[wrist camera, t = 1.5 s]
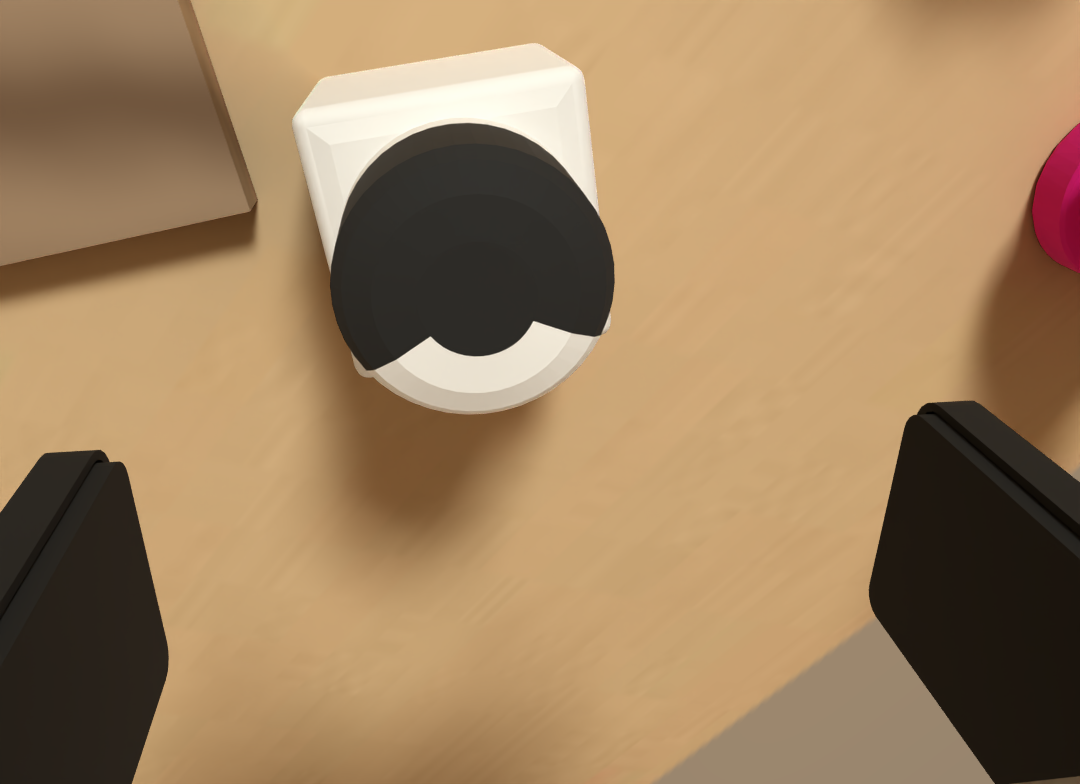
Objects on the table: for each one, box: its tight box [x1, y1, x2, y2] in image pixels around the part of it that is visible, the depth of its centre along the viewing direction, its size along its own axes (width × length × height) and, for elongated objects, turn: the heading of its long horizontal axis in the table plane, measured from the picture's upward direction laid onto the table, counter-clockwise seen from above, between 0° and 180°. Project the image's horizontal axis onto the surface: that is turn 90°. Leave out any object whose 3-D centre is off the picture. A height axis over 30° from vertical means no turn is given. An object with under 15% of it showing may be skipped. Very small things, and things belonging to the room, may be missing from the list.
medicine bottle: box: [292, 43, 615, 414], centre depth 23 cm, size 7×7×12 cm
